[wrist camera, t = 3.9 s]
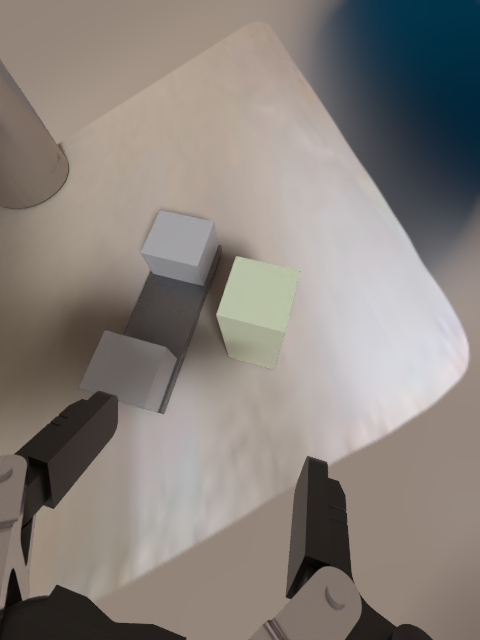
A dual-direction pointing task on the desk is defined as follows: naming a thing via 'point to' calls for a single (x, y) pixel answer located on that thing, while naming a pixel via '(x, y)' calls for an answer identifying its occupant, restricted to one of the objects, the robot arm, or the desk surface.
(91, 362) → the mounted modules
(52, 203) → the desk surface
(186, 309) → the dark gray flat board
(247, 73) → the desk surface
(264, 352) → the block
